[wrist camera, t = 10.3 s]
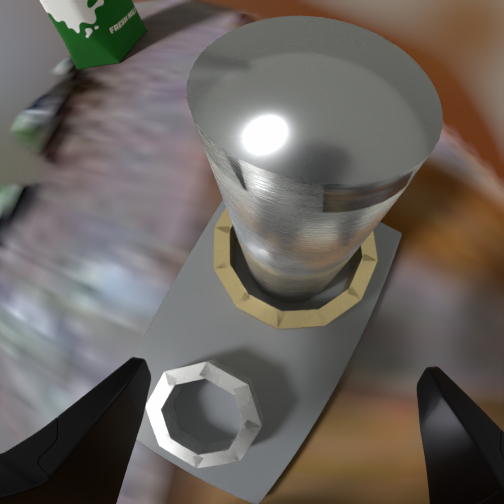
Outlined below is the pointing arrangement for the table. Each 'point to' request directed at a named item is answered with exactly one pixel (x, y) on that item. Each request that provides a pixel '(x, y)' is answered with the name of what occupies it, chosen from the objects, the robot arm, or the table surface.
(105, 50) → the milk carton
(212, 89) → the disc
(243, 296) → the wide brass socket
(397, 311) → the table surface
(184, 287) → the fitting board
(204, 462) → the narrow aluminium socket
